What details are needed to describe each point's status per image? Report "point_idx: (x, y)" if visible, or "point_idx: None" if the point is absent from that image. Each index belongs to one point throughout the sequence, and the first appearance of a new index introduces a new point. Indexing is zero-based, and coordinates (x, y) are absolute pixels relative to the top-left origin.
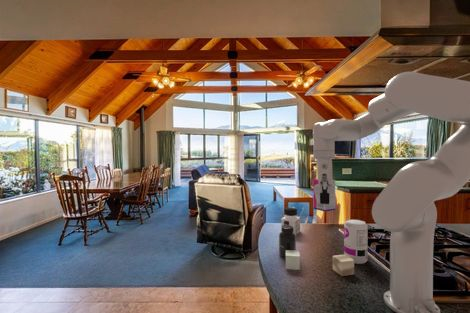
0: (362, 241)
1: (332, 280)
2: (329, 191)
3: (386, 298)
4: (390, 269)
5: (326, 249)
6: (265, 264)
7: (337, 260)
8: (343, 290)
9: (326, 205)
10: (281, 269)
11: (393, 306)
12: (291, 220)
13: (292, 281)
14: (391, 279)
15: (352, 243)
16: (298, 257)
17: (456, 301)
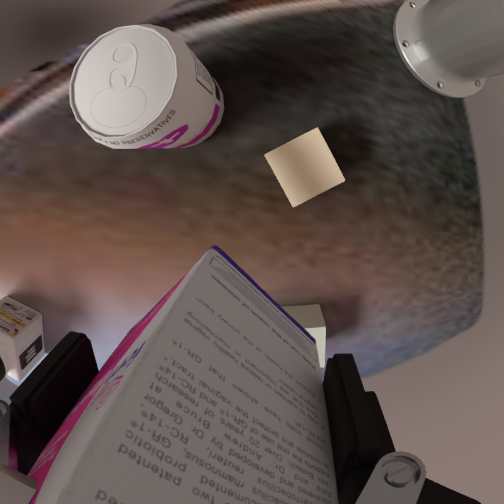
0: (203, 67)
1: (369, 208)
2: (276, 456)
3: (450, 91)
4: (493, 68)
5: (116, 209)
6: None
7: (322, 191)
8: (416, 186)
9: (309, 359)
10: (325, 351)
11: (474, 91)
12: (14, 351)
13: (389, 318)
14: (485, 75)
15: (207, 113)
16: (324, 328)
17: None
